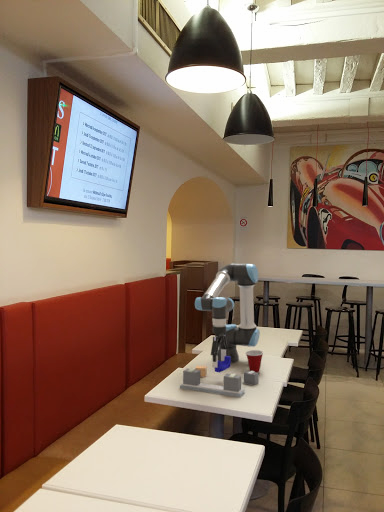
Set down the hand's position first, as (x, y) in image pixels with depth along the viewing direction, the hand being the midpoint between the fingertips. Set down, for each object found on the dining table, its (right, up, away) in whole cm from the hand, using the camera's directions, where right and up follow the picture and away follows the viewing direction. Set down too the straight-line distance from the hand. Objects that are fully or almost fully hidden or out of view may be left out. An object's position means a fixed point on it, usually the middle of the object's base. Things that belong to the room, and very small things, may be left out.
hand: (219, 364), depth 252 cm
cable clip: (+1, -3, 0) cm, 3 cm away
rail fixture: (-5, -11, -13) cm, 17 cm away
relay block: (+18, -11, +1) cm, 21 cm away
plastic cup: (+22, -10, +24) cm, 34 cm away
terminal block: (-10, -10, +15) cm, 21 cm away
